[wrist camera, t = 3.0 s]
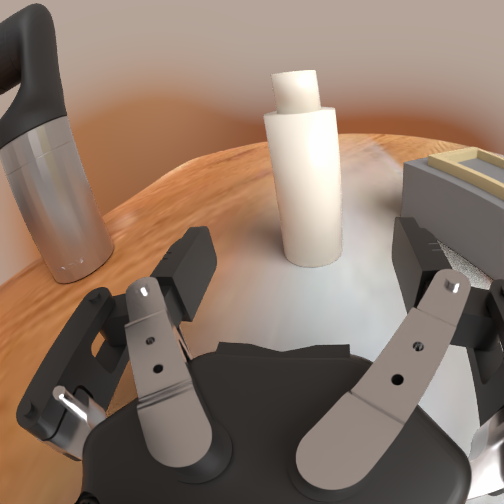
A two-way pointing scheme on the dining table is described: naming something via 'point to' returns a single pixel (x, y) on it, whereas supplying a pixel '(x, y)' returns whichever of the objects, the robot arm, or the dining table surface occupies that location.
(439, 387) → the dining table surface
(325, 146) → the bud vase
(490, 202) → the display riser
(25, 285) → the dining table surface
